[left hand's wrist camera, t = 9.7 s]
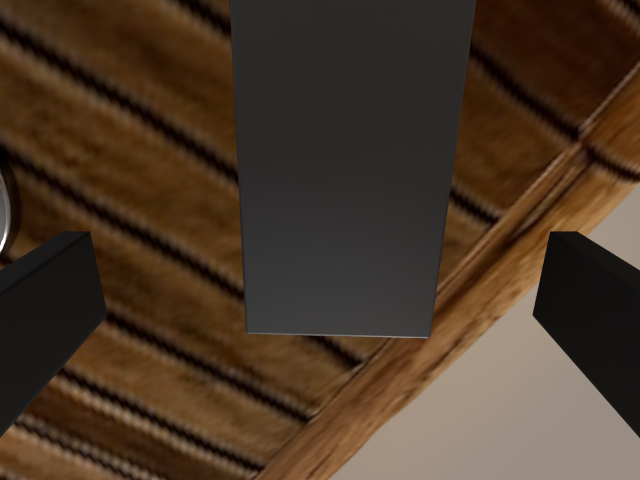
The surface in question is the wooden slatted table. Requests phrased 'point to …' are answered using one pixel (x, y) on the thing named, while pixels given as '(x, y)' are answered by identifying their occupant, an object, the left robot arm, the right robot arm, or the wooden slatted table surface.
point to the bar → (346, 159)
